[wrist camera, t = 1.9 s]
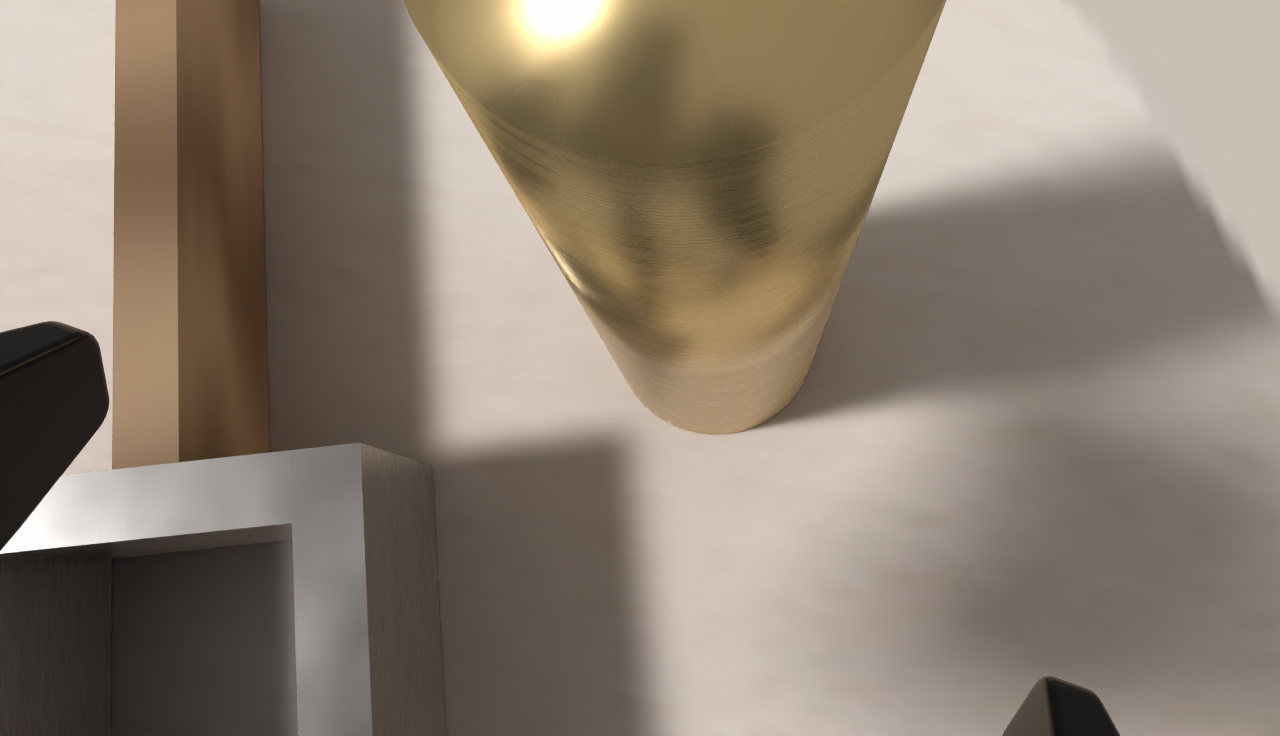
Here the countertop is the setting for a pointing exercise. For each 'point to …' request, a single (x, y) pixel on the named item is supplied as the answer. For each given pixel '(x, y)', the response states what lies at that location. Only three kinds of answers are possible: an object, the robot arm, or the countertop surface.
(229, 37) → the hinge leaves
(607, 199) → the hinge pin
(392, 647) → the gray square planter
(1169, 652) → the countertop surface
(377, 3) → the countertop surface
